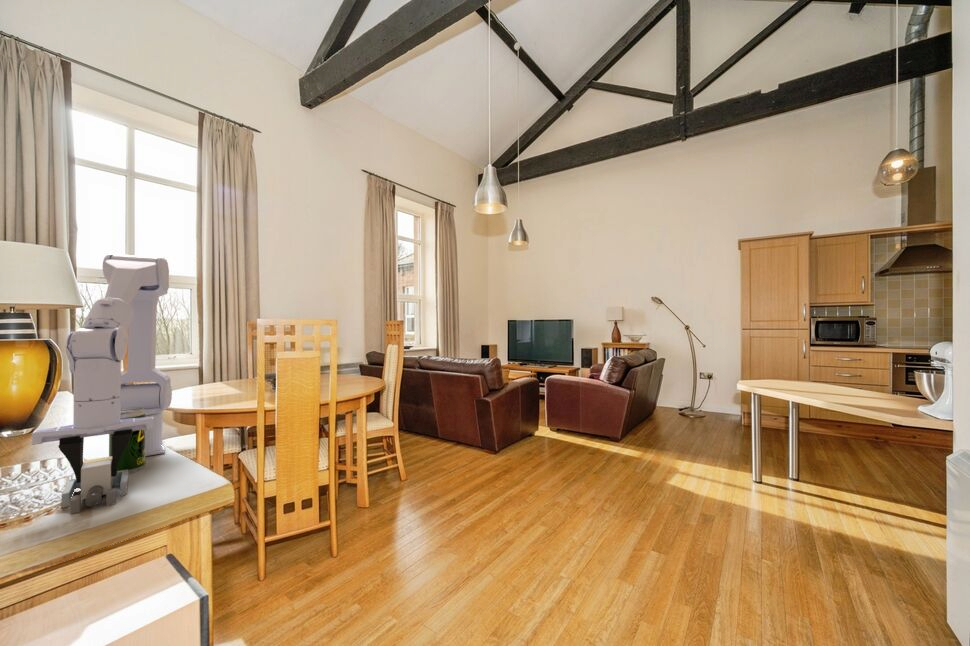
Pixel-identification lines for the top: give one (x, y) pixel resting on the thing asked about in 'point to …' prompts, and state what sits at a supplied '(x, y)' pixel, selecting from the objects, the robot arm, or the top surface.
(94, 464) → the connector
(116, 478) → the grey holder frame
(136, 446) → the beer can
